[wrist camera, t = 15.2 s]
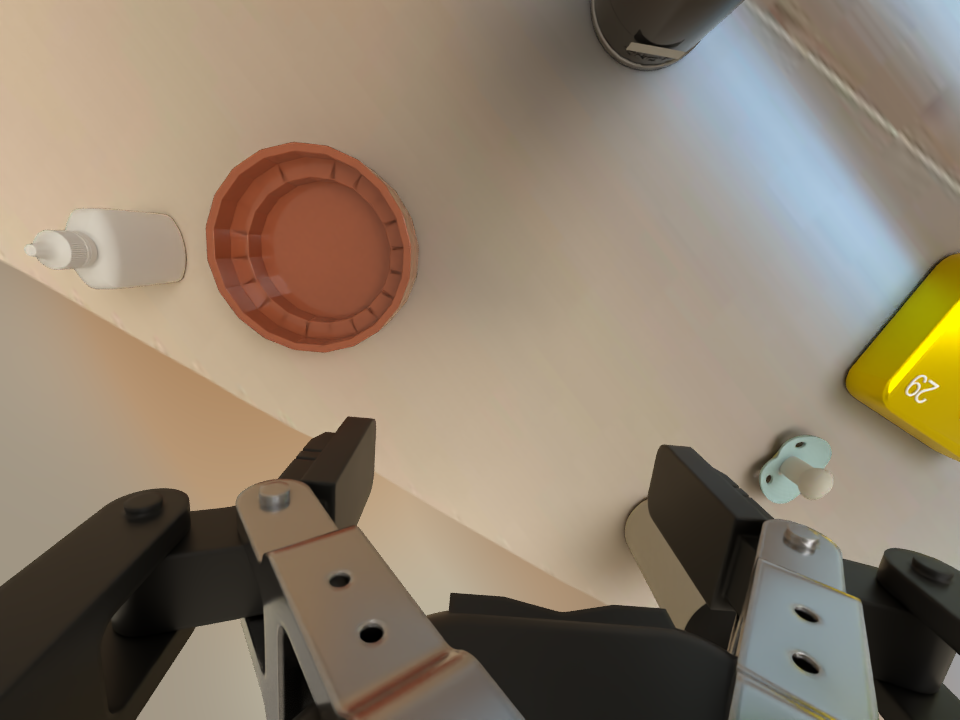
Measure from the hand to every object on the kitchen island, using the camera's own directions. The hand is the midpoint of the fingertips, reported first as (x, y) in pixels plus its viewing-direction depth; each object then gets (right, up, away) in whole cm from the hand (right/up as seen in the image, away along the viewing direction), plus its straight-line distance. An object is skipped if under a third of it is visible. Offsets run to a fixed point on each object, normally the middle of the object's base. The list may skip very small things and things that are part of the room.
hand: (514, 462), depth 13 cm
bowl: (-14, +12, +26) cm, 32 cm away
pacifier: (+29, -7, +31) cm, 44 cm away
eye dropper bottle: (-28, +12, +26) cm, 40 cm away
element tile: (+43, +3, +29) cm, 51 cm away
